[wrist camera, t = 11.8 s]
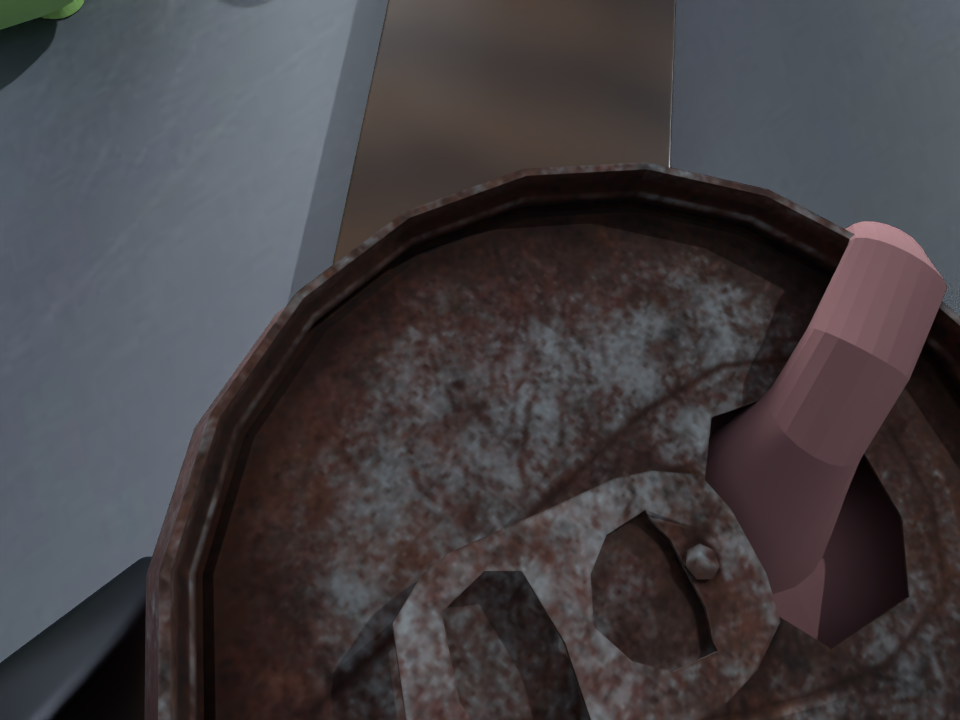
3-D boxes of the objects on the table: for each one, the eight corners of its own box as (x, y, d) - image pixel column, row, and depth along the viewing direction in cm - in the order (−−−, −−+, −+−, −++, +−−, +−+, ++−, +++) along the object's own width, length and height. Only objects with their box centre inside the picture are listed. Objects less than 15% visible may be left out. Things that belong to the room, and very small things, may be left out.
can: (629, 537, 18) (1287, 361, 5) (510, 791, 16) (1099, 1790, 3) (422, 417, 18) (488, -58, 5) (280, 649, 16) (-250, 877, 3)
